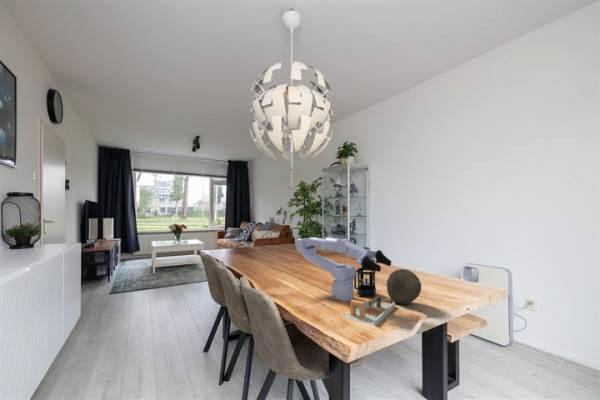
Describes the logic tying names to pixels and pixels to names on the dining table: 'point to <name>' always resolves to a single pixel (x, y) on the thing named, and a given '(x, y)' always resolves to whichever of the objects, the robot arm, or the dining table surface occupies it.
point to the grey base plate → (370, 318)
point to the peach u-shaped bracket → (353, 308)
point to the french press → (365, 282)
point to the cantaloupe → (403, 286)
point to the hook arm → (377, 299)
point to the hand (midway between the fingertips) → (385, 266)
